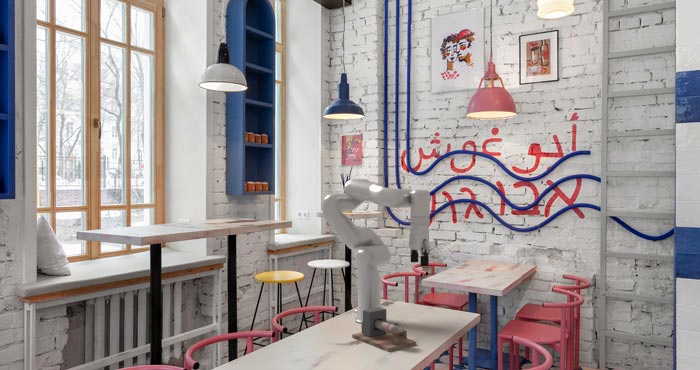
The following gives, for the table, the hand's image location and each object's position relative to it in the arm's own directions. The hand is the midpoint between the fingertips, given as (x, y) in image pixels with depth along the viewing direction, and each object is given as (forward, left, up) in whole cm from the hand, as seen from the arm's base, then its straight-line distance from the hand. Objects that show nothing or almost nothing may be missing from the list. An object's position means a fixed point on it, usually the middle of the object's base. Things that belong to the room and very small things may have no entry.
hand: (419, 264), depth 198 cm
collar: (-2, -21, -25) cm, 32 cm away
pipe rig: (+3, -21, -26) cm, 33 cm away
